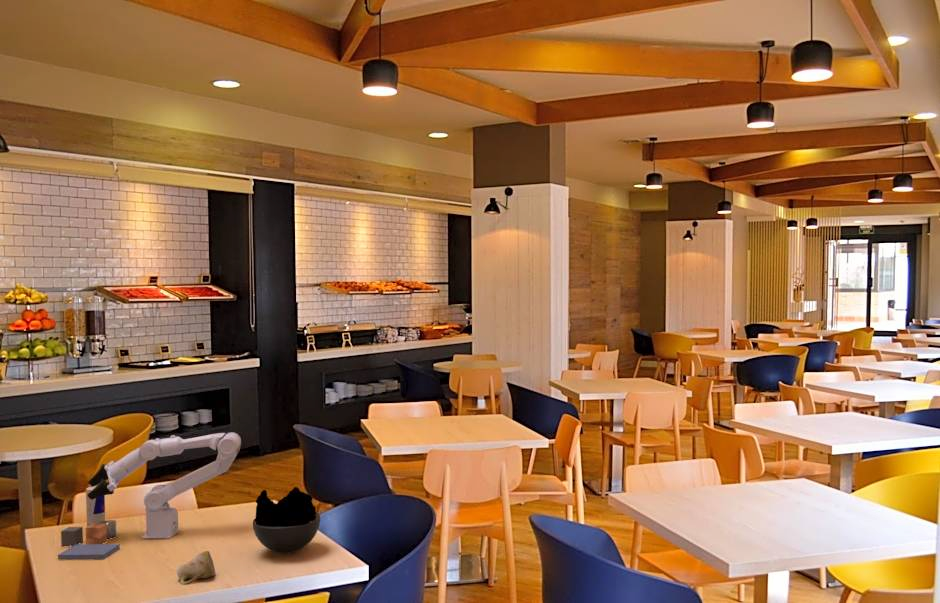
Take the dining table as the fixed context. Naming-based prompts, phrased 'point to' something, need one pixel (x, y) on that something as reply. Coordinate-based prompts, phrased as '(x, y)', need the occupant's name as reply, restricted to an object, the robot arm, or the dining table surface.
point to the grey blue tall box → (95, 508)
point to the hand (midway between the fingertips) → (89, 490)
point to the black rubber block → (71, 536)
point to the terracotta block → (96, 534)
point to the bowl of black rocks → (286, 521)
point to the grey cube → (110, 528)
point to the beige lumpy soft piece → (197, 568)
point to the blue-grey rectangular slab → (89, 551)
